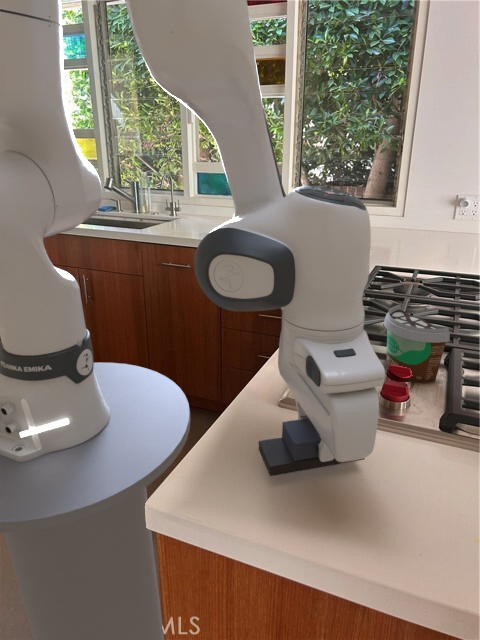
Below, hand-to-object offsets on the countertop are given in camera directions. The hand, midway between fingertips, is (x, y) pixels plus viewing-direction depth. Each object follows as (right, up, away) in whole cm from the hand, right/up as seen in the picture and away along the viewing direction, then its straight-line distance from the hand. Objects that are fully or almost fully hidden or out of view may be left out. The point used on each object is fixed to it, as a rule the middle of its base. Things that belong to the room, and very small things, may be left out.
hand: (315, 442), depth 56 cm
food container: (+18, +6, +23) cm, 30 cm away
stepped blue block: (0, -2, +1) cm, 2 cm away
